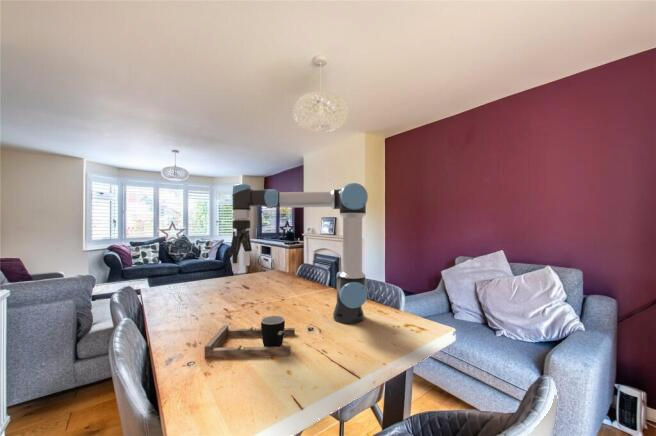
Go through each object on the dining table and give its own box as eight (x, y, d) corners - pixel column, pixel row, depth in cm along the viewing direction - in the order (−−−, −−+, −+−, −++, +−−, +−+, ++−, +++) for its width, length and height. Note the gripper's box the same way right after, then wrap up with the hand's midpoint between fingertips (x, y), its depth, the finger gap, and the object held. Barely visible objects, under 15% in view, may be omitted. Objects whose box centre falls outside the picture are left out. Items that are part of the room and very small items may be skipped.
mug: (279, 352, 98) (279, 325, 98) (256, 350, 100) (256, 323, 100) (290, 338, 110) (290, 314, 110) (270, 336, 112) (270, 312, 112)
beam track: (294, 333, 115) (294, 324, 115) (289, 356, 95) (289, 344, 96) (223, 334, 114) (223, 325, 114) (204, 357, 94) (204, 346, 94)
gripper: (242, 219, 131) (242, 263, 130) (221, 219, 106) (220, 273, 105) (258, 219, 130) (258, 263, 130) (239, 219, 105) (239, 273, 105)
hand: (241, 268), depth 118 cm, fingers open, 13 cm apart
